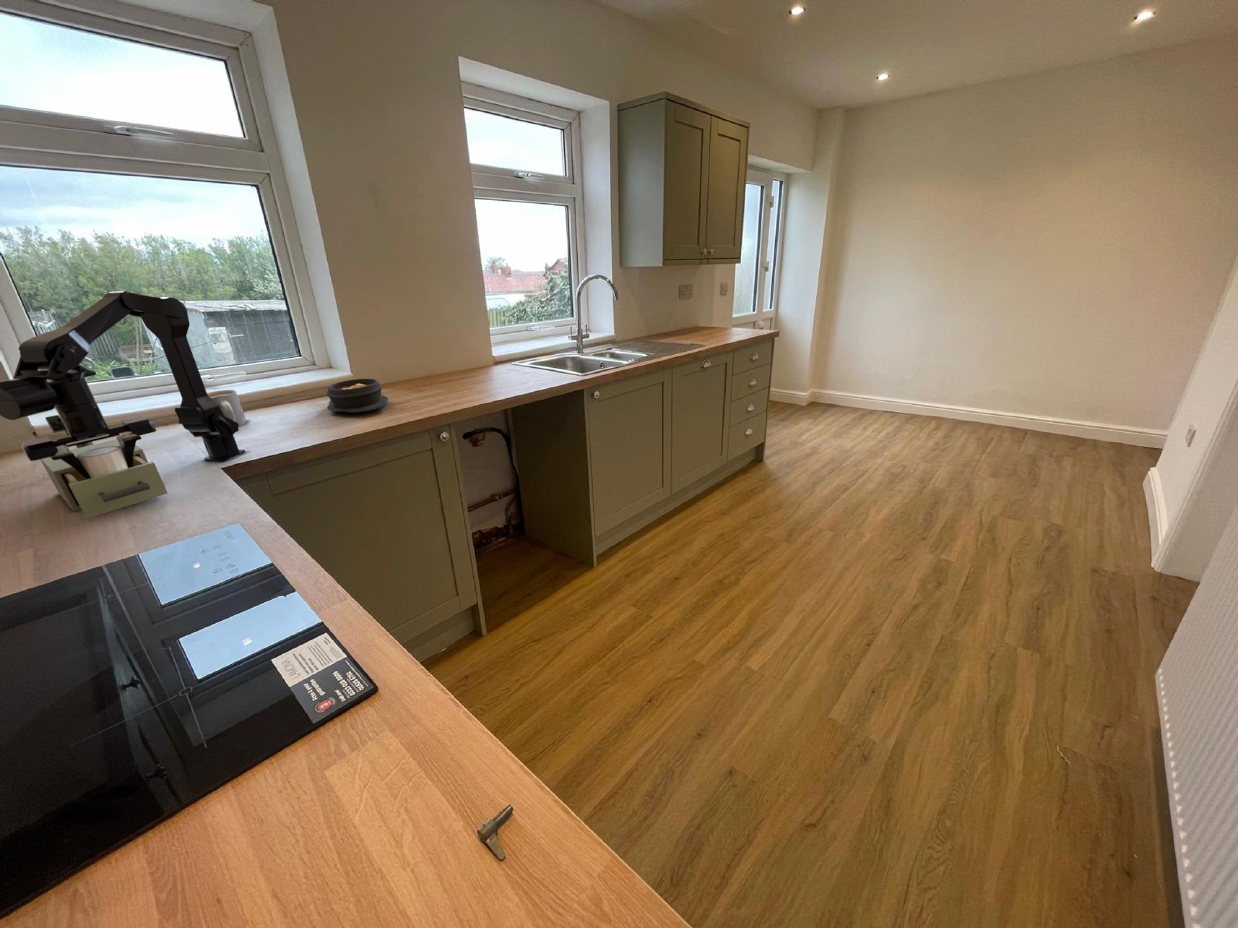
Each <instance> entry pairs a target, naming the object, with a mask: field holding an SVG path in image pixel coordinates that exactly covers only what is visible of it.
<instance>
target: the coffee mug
mask: <svg viewBox="0 0 1238 928" xmlns="http://www.w3.org/2000/svg"><path fill="white" fill-rule="evenodd" d="M207 394H208V396H209V397H210V398H211V399H212V400H214V401H215V402H216V403H217V404H218V405H219V406H220V408H221V410H222V412H223V414H224V416H225V417H227V418H229V419H231V420H233V421H235V422H237V423H238V427H240V426H243V425H245V424H246V423H247V419H246V415H245V413H244V410H243V407H242V405H241V402H240V398H239V396H238V394H237V391H236V390H234V389H223V390H221V389H220V390H214V391H209V392H207Z"/></svg>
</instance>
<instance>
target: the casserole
mask: <svg viewBox="0 0 1238 928" xmlns="http://www.w3.org/2000/svg"><path fill="white" fill-rule="evenodd" d="M382 389H383V385H382V384H381V383H380V382H379V381H378V380H377V379H375V378H357V379H348V380H343V381H340V382H336V383H334V384H331V385H329V386H328V387H327V392H326V394H325V395H326V396H327V397H328V398H329V399H330V400H329V401H328V404H327V407H326V409H327V410H328V411H331V412H336V413H339V412H340V413H343V414H344V413H345V414H358V413H364V412H368V411H369V412H371V411H374V410H378V409H382V408H384V407H387V406H388V405H389V402H388V401H389V398H388V396H386V395H383V394H382Z"/></svg>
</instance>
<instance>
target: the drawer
mask: <svg viewBox="0 0 1238 928" xmlns="http://www.w3.org/2000/svg"><path fill="white" fill-rule="evenodd" d="M62 474H63V476H64V478H65V480H66V482H67V484H68V486H69V488H70V489H71V491H72V493H73V495H74V497H75V499H76V500H77V501H78V503H79V505H80V507H81V509H80V510H81V511H82V513H83V515H84V516H85V518H86V519H90V518H94V517H97V516H100V515H103V514H107V513H110V512H113V511H116V510H119V509H123V508H126V507H129V506H133V505H135V504H138V503H142V502H144V501H148V500H151V499H154V498H158V497H161V496H165V495H168V493H169V492H168V490H167V488H166V486H165V484H164V481H163V479H162V477H161V475H160V472H159V470H158V467H157V466H156V464H155V462H154V461H148V463H147V462H145V461H144V460H142V459H141V458H139V457H138V456H136V455H133V467H131V468H127V469H123V470H120V471H116V472H112V473H109V474H105V475H101V476H97V477H94V478H90V479H86V478H84V477H83V476H82V475H81V474H80V473H79V472H78V471H77V470H74V471H70V472H66V473H62Z"/></svg>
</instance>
